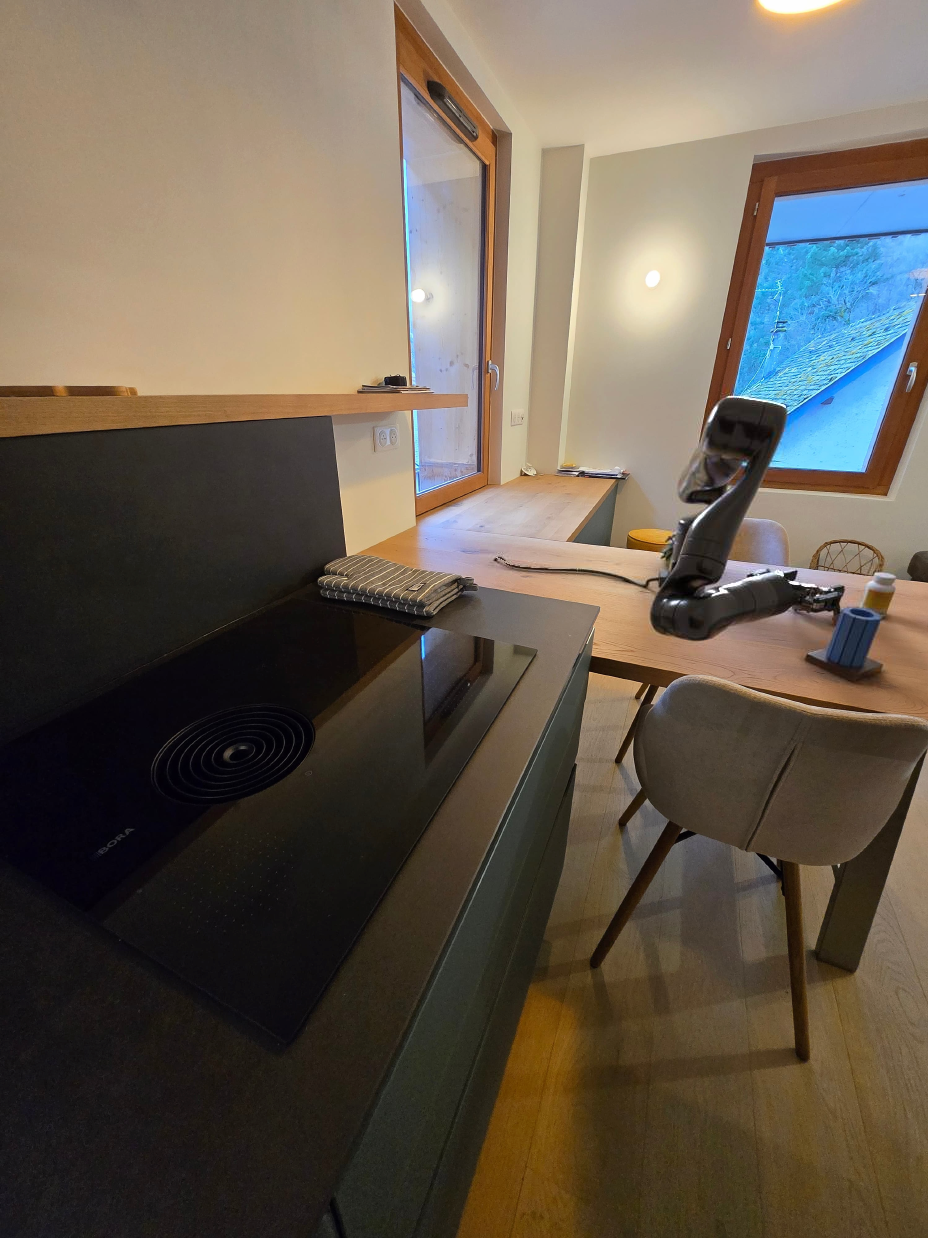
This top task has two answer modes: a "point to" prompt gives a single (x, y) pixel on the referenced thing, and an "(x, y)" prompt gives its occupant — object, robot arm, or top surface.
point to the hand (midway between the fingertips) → (817, 582)
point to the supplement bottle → (879, 593)
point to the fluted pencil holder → (853, 636)
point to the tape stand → (843, 666)
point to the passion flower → (668, 550)
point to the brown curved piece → (806, 608)
